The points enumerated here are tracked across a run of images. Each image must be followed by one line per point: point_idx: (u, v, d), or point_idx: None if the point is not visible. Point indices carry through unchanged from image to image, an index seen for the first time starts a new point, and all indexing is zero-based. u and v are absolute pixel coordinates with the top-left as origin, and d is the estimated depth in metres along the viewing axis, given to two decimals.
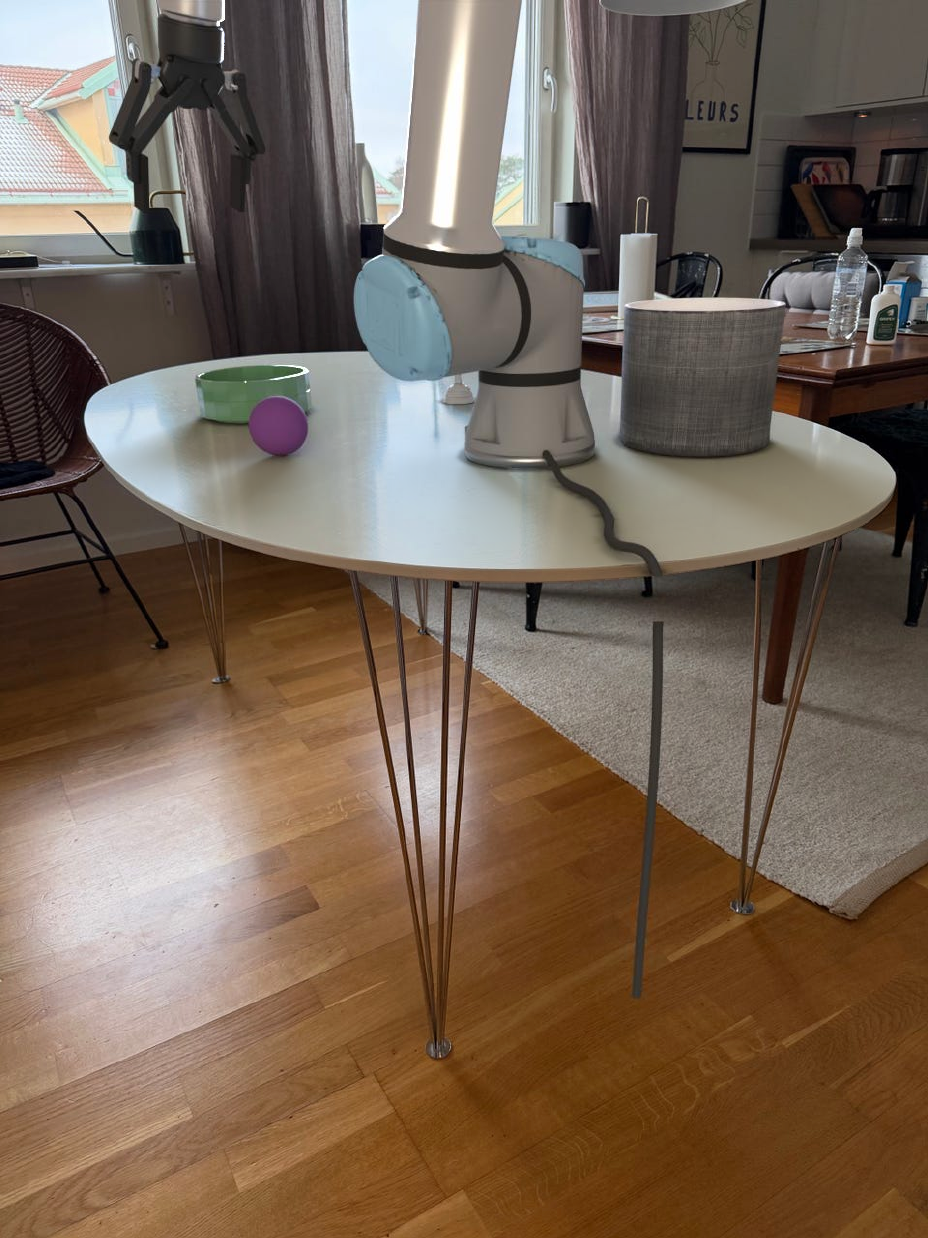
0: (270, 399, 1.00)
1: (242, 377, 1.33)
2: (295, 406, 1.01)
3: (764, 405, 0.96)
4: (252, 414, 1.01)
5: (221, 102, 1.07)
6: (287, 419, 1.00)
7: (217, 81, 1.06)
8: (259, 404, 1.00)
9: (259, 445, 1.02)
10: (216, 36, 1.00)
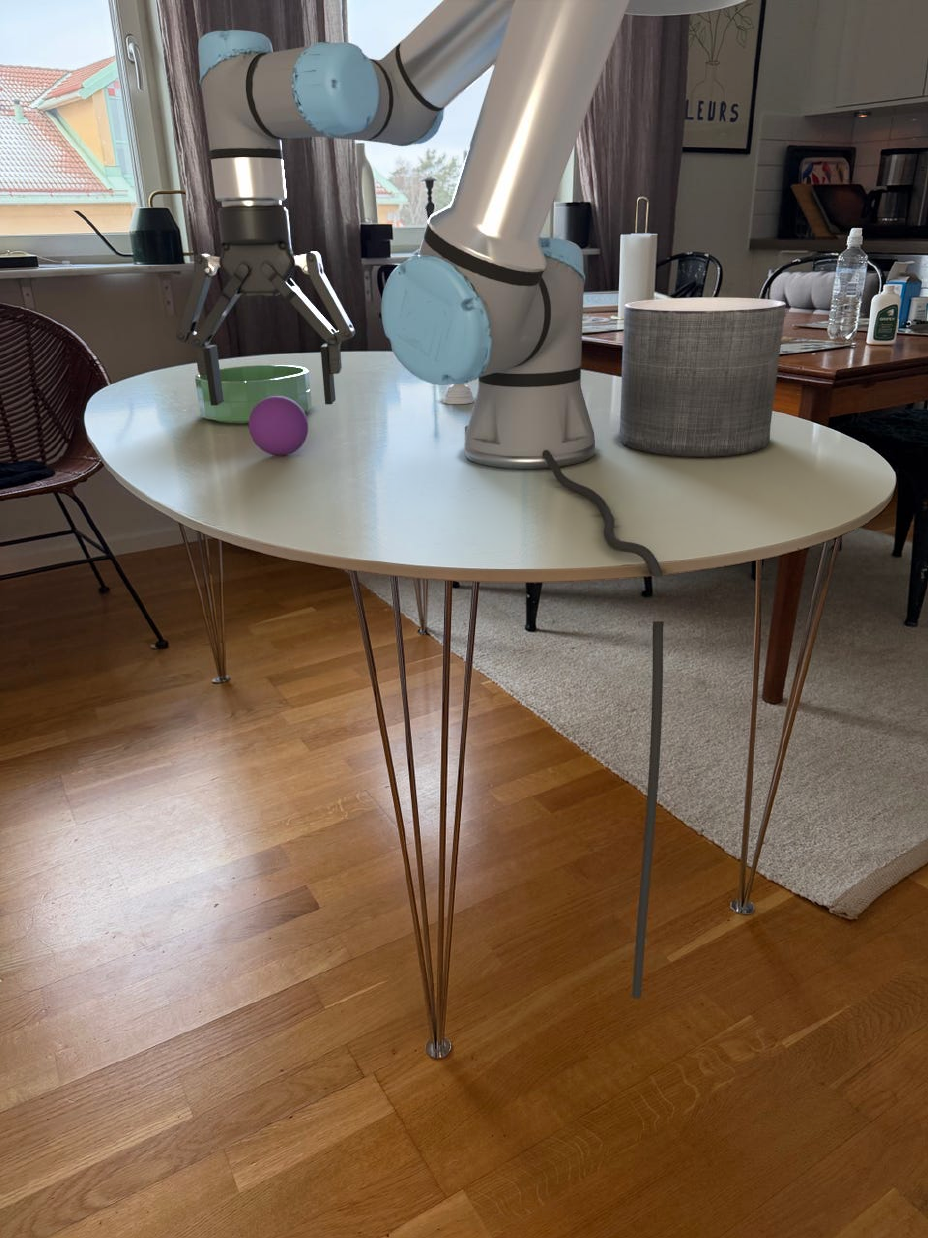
0: (270, 399, 1.00)
1: (242, 377, 1.33)
2: (295, 406, 1.01)
3: (764, 405, 0.96)
4: (252, 414, 1.01)
5: (285, 285, 0.94)
6: (287, 419, 1.00)
7: (282, 264, 0.94)
8: (259, 404, 1.00)
9: (259, 445, 1.02)
10: (257, 215, 0.90)
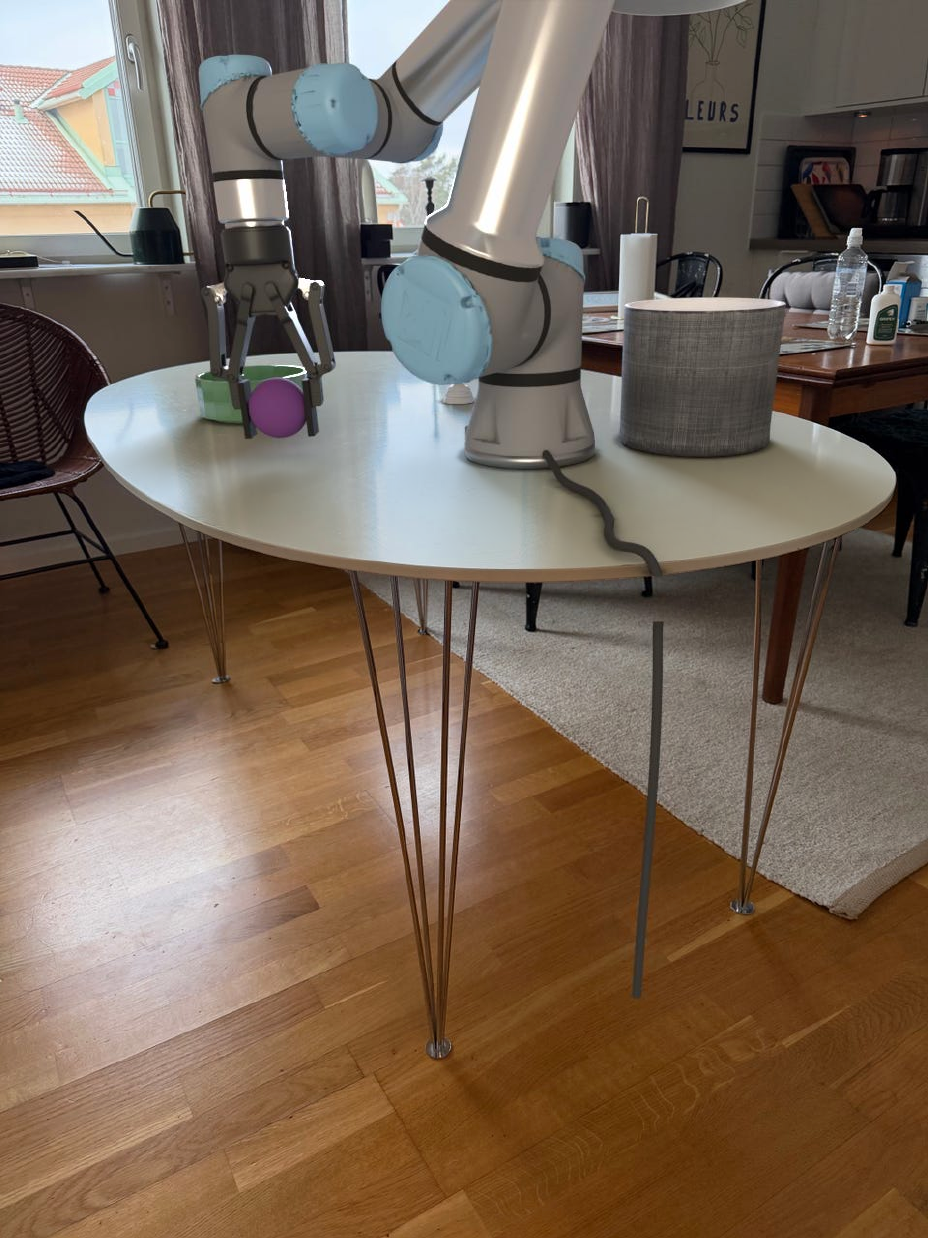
0: (270, 381, 0.99)
1: (242, 377, 1.33)
2: (295, 387, 1.00)
3: (764, 405, 0.96)
4: (252, 396, 0.99)
5: (283, 309, 0.95)
6: (287, 401, 0.98)
7: (285, 283, 0.95)
8: (259, 386, 0.99)
9: (259, 427, 1.00)
10: (259, 235, 0.91)
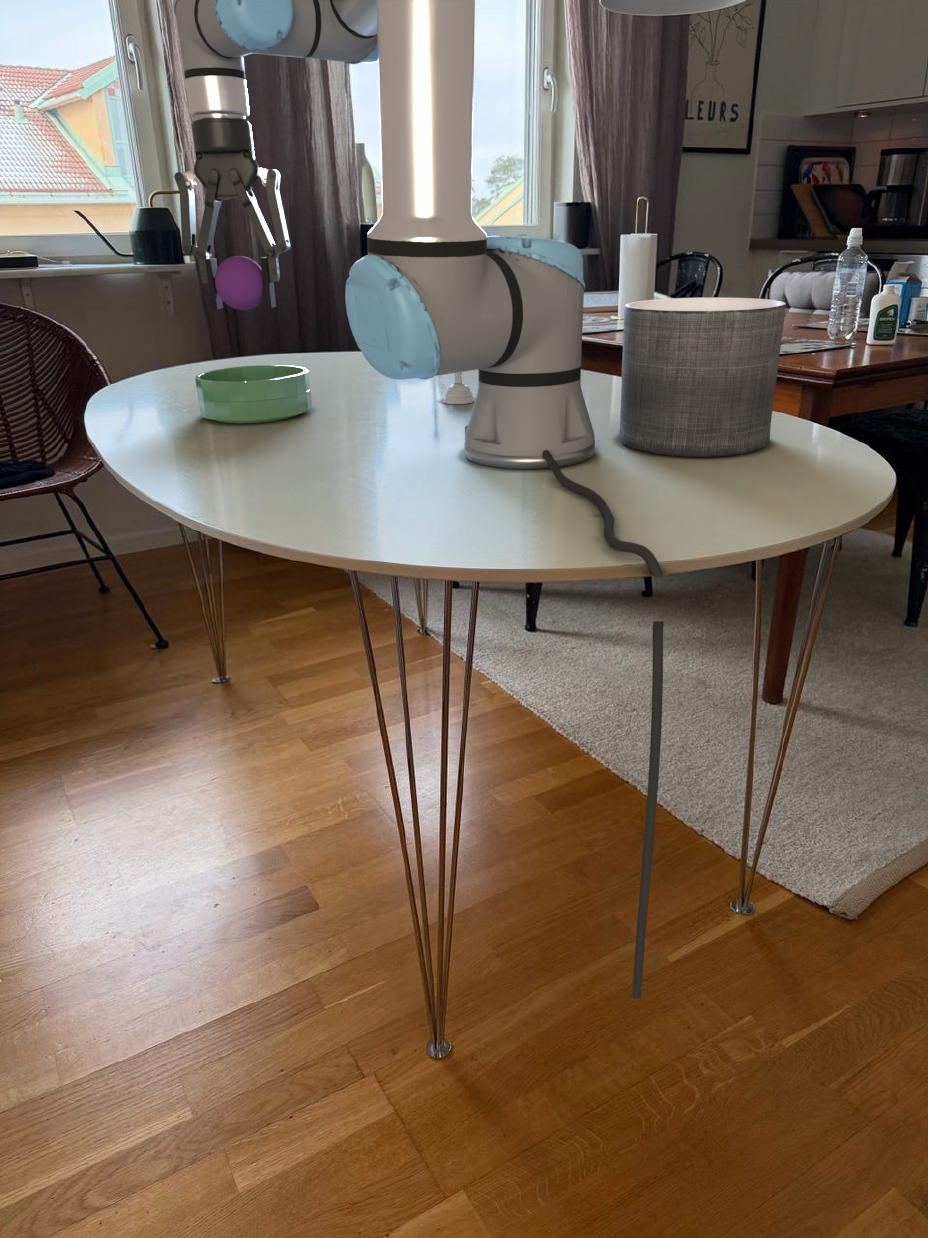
0: (233, 257, 1.16)
1: (242, 377, 1.33)
2: (255, 264, 1.17)
3: (764, 405, 0.96)
4: (217, 270, 1.16)
5: (244, 193, 1.12)
6: (248, 274, 1.15)
7: (246, 170, 1.11)
8: (224, 261, 1.16)
9: (224, 298, 1.17)
10: (224, 125, 1.07)
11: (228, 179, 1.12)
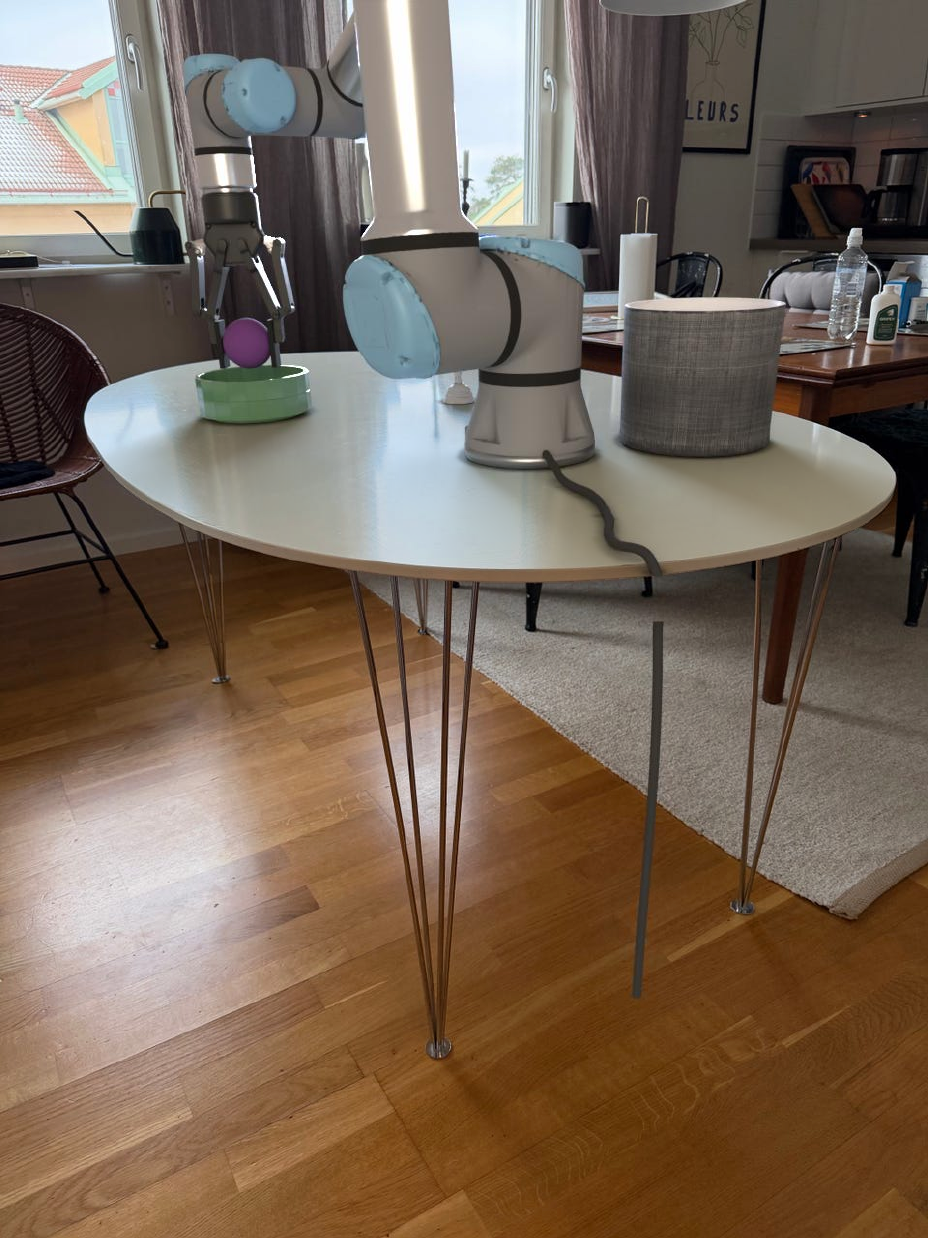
0: (240, 320, 1.22)
1: (242, 377, 1.33)
2: (261, 326, 1.22)
3: (764, 405, 0.96)
4: (225, 332, 1.22)
5: (251, 261, 1.18)
6: (254, 336, 1.21)
7: (252, 239, 1.17)
8: (231, 324, 1.22)
9: (231, 358, 1.23)
10: (232, 199, 1.13)
11: (236, 247, 1.18)
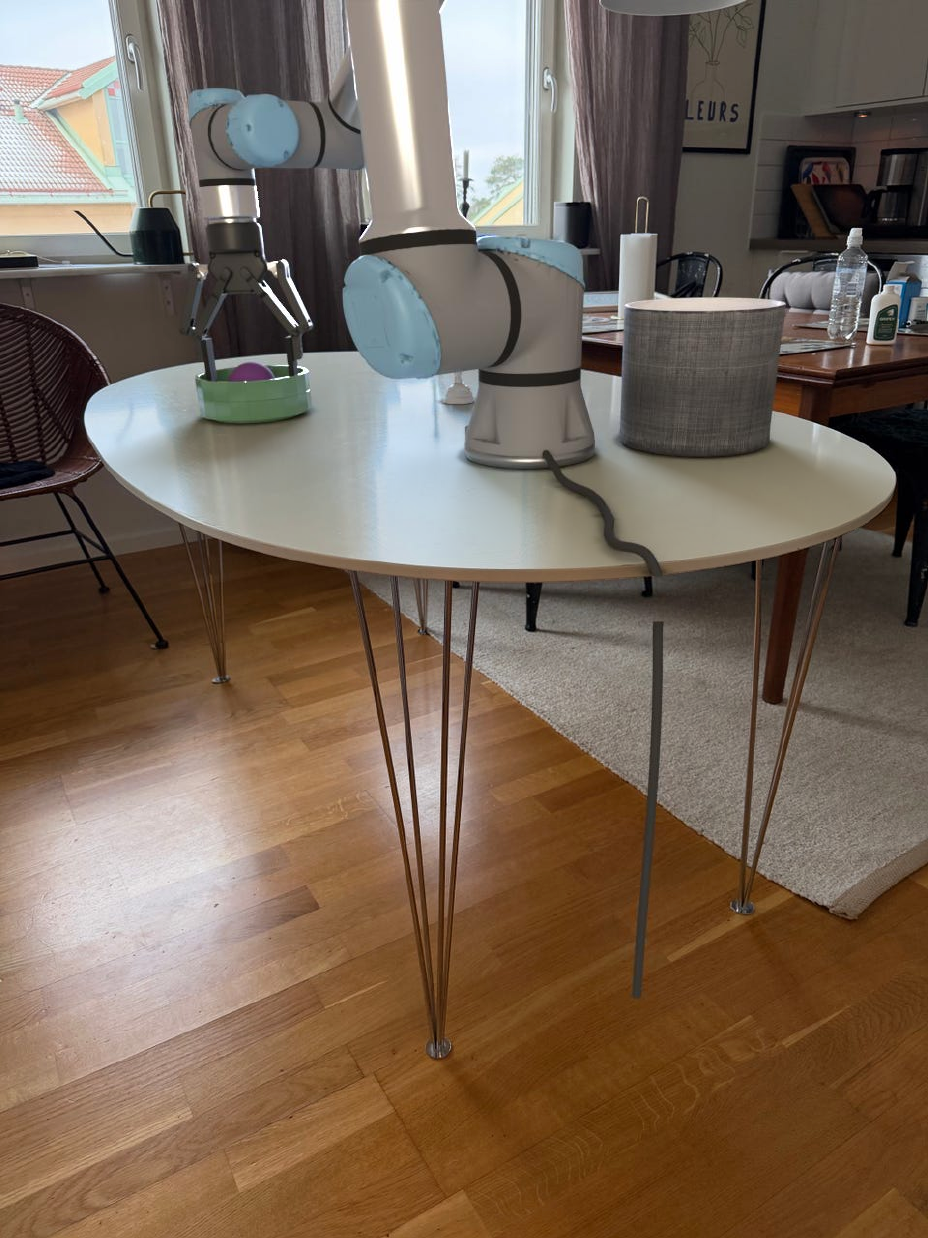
0: (244, 364, 1.24)
1: None
2: (265, 368, 1.25)
3: (764, 405, 0.96)
4: (230, 377, 1.24)
5: (259, 286, 1.19)
6: (258, 379, 1.23)
7: (257, 268, 1.19)
8: (235, 368, 1.24)
9: None
10: (235, 229, 1.15)
11: (239, 276, 1.19)
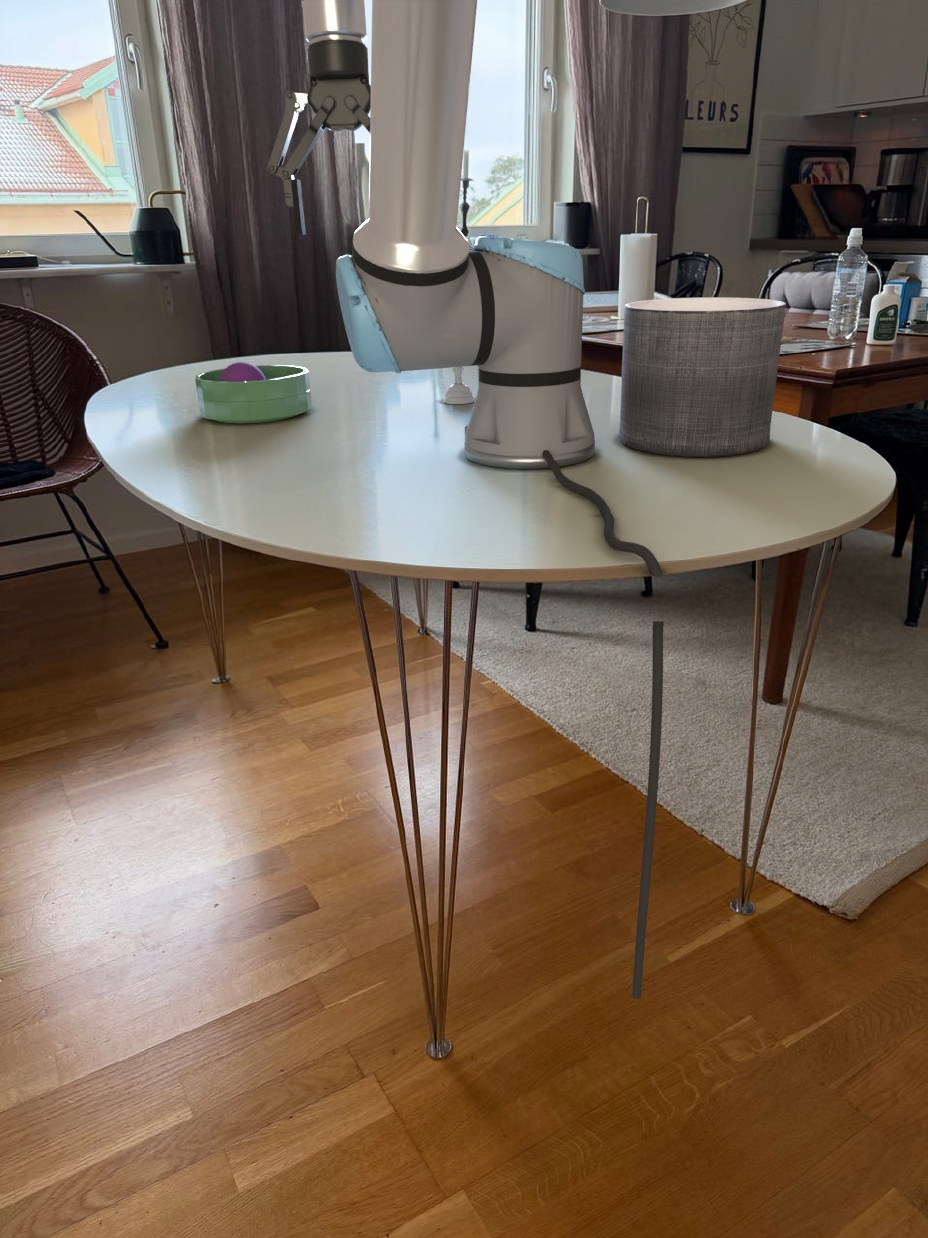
0: (226, 368, 1.24)
1: None
2: (246, 364, 1.25)
3: (764, 405, 0.96)
4: None
5: (366, 116, 1.07)
6: (243, 375, 1.23)
7: (363, 97, 1.07)
8: None
9: None
10: (344, 47, 1.03)
11: (343, 107, 1.07)
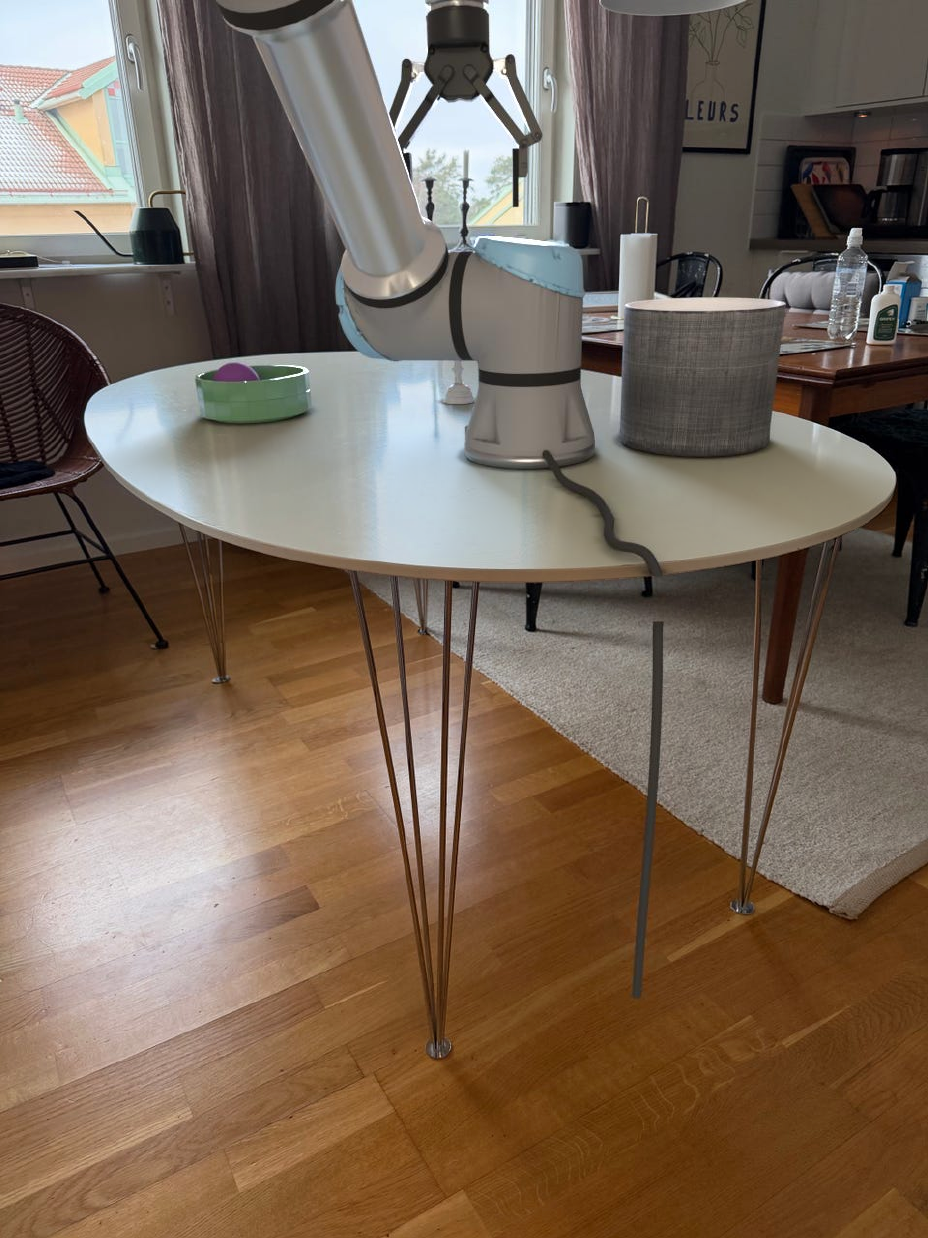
0: (216, 372, 1.25)
1: None
2: (234, 363, 1.25)
3: (764, 405, 0.96)
4: None
5: (485, 87, 1.03)
6: (233, 374, 1.23)
7: (482, 67, 1.03)
8: None
9: None
10: (467, 13, 0.98)
11: (461, 77, 1.03)
